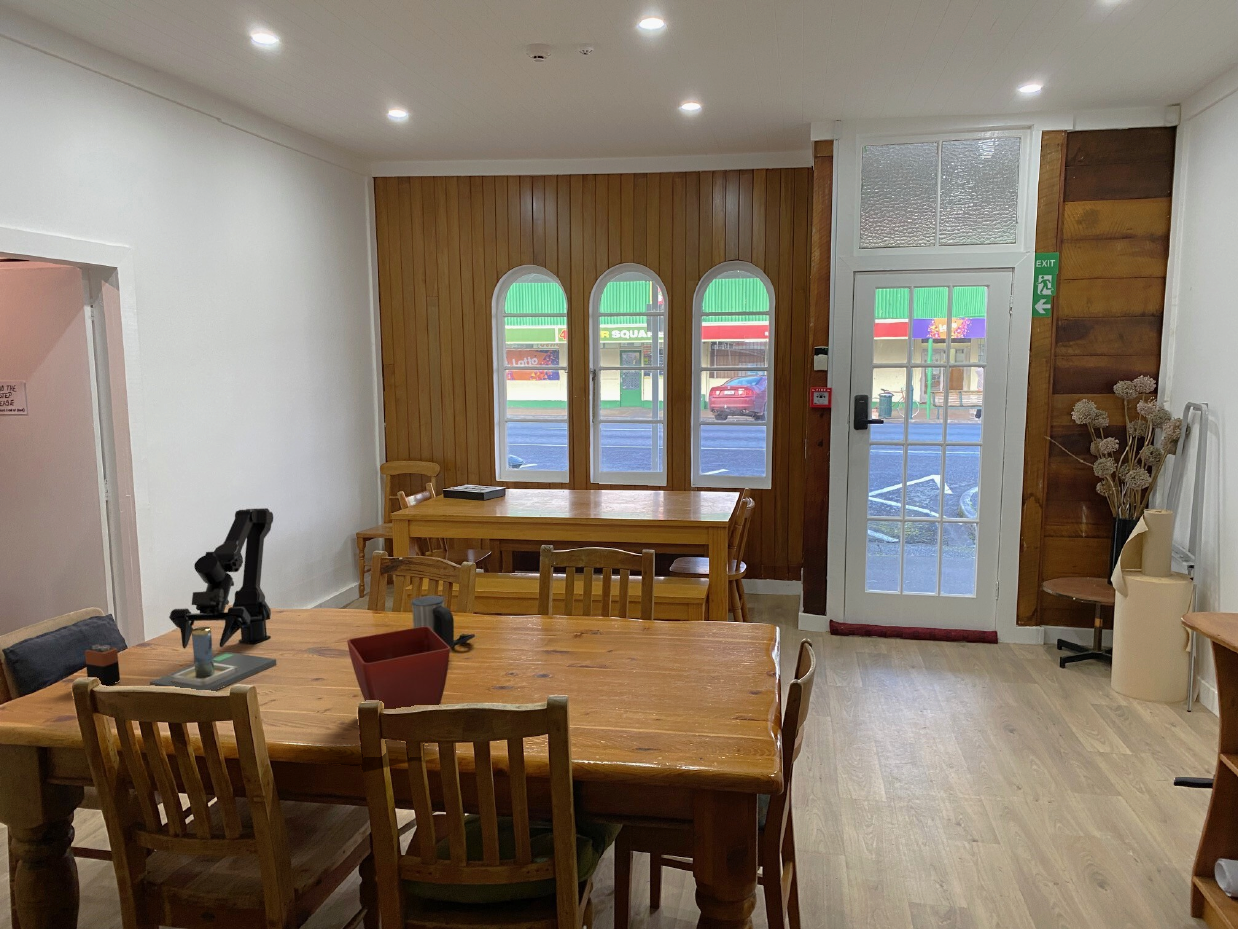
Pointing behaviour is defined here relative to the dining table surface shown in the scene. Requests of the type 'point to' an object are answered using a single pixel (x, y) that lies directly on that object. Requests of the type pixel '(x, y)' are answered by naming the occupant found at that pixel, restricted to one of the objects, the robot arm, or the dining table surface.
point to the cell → (203, 652)
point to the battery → (103, 664)
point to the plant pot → (401, 667)
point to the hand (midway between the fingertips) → (202, 647)
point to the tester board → (218, 672)
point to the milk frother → (436, 619)
